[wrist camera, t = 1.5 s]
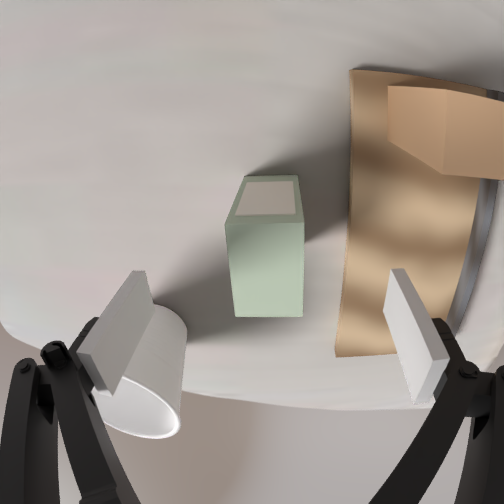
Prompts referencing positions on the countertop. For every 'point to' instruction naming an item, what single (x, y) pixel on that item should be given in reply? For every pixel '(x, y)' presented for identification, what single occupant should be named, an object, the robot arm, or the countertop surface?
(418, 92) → the faced carton
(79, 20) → the countertop surface
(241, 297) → the carton
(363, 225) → the wavy tan tray
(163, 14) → the countertop surface
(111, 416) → the cup
